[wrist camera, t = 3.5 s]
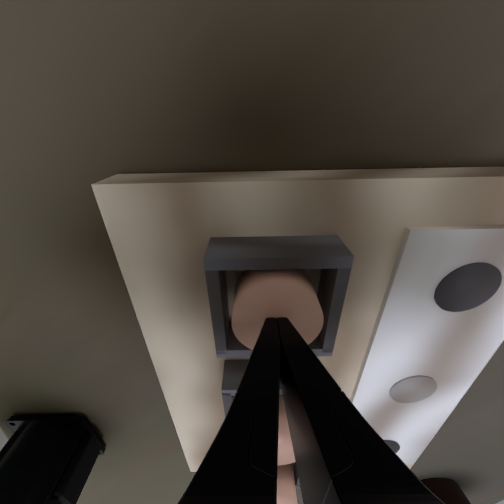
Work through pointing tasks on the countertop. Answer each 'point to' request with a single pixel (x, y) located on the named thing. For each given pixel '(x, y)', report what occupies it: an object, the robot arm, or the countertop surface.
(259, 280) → the button
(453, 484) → the coffee mug
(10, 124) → the countertop surface
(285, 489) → the button
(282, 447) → the middle button
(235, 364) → the button board
